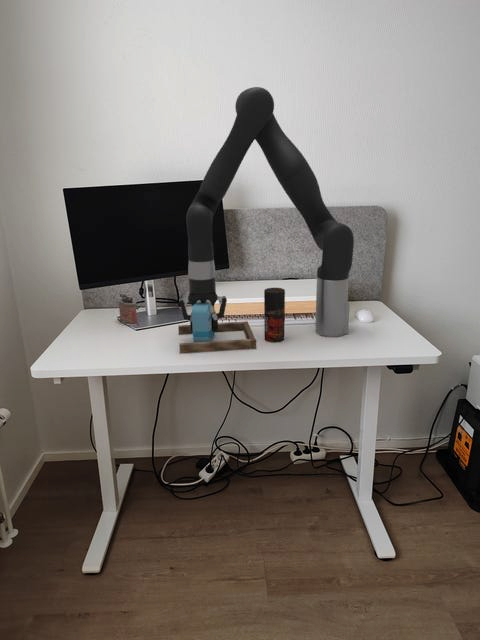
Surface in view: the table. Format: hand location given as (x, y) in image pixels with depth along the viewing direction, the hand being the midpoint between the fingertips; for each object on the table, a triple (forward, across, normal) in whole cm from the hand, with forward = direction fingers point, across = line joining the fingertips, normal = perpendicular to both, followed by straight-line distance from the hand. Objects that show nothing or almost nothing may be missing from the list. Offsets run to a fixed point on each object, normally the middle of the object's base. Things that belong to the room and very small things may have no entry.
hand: (204, 331), depth 150 cm
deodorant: (+3, -21, +2) cm, 21 cm away
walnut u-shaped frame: (+3, -3, 0) cm, 4 cm away
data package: (+3, 0, 0) cm, 3 cm away
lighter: (+3, +23, -21) cm, 32 cm away
